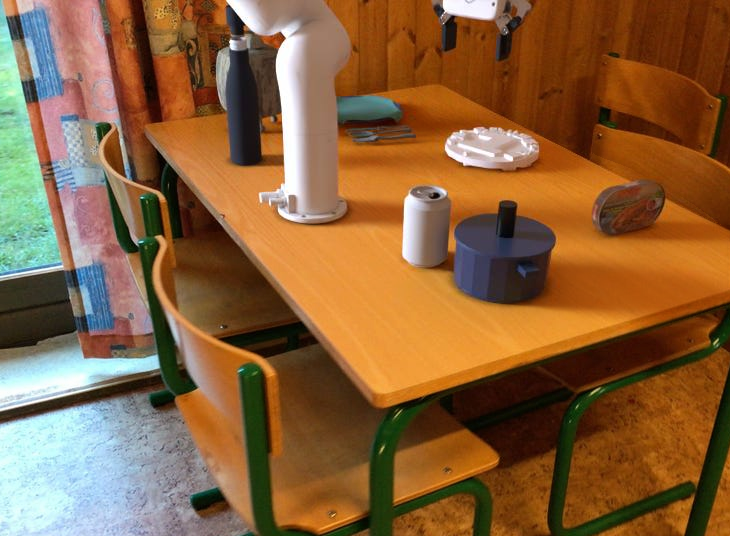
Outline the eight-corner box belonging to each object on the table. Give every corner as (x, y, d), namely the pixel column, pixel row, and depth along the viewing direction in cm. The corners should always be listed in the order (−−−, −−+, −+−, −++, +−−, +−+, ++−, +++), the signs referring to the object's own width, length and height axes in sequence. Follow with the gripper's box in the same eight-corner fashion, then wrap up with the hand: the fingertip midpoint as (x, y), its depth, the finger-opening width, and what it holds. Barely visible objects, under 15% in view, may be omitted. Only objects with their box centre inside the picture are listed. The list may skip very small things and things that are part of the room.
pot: (482, 318, 124) (487, 273, 120) (434, 258, 140) (436, 216, 136) (570, 304, 128) (578, 260, 124) (514, 247, 144) (518, 207, 140)
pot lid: (477, 270, 122) (481, 231, 118) (438, 225, 134) (441, 189, 131) (573, 257, 126) (579, 219, 123) (527, 215, 138) (531, 179, 135)
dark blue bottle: (225, 162, 173) (211, 7, 157) (240, 152, 178) (229, 1, 161) (252, 167, 171) (241, 11, 155) (267, 157, 176) (259, 4, 160)
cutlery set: (389, 101, 211) (389, 91, 209) (425, 141, 187) (425, 131, 186) (311, 105, 206) (310, 96, 205) (337, 147, 182) (337, 137, 181)
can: (443, 272, 136) (448, 202, 129) (398, 267, 137) (400, 198, 130) (450, 252, 142) (455, 184, 135) (406, 247, 143) (409, 180, 136)
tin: (596, 239, 147) (604, 194, 143) (585, 232, 150) (592, 187, 145) (661, 224, 153) (671, 180, 149) (649, 217, 156) (659, 174, 151)
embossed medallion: (427, 147, 184) (428, 134, 182) (501, 134, 192) (502, 121, 190) (480, 178, 170) (481, 164, 168) (557, 163, 178) (559, 149, 176)
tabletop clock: (278, 119, 197) (273, 5, 183) (296, 130, 191) (292, 13, 177) (220, 128, 190) (210, 11, 176) (236, 141, 184) (227, 20, 170)
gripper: (419, -69, 125) (416, 51, 135) (523, -58, 117) (512, 68, 126) (446, -74, 130) (441, 42, 140) (548, -64, 122) (535, 58, 131)
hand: (475, 54), depth 133 cm, fingers open, 9 cm apart
